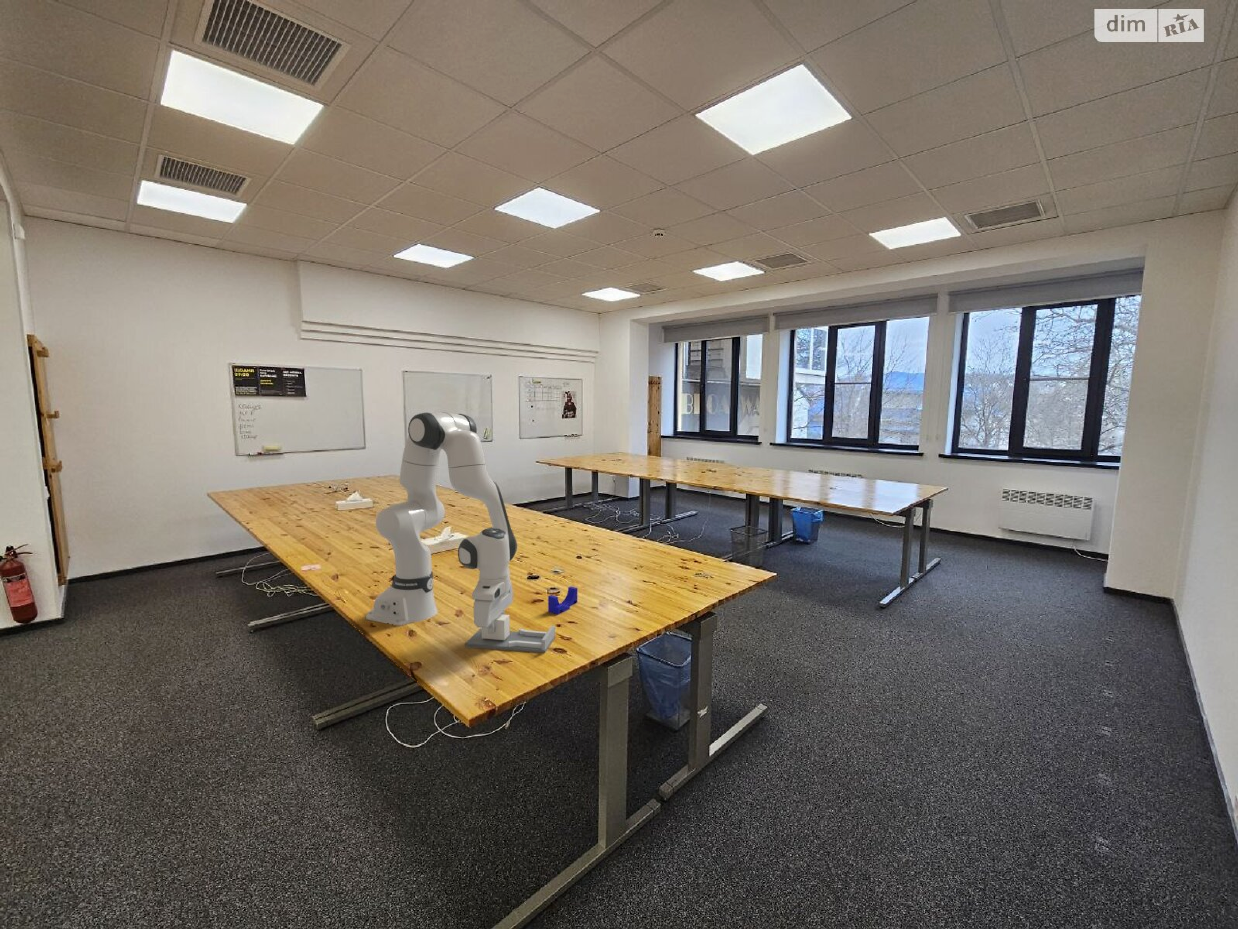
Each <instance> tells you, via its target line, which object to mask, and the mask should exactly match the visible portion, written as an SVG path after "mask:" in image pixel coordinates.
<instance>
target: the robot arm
mask: <svg viewBox="0 0 1238 929" xmlns="http://www.w3.org/2000/svg"><path fill="white" fill-rule="evenodd" d="M477 430H478V428H477V424H476V421H475V420H474V419H473V417H470V416H469V415H466V414H462V413H454V412H446V411H444V412H422V413H421V412H420V413H417V414H414V415H413V416H412V417H411V419H410V420H409V423H408V427H407V432H408V435H407V438H406V442H405V445H404V448H403V453H402V457H401V458H402V459H401V466H400V471H399V480H398V481H399V484H400V485H401V487H402V488H404V489H405V490H406V493H407V500H406V501H405V502H399V503H395V504H392V505H389V506H388V507H386V508H384V509H382V510H380V511H379V512H378V513H377V515H376V518H375V528H376V530H377V532H378V533H379V535H380V536H382V537H383V538H385V539H386V540H387V541H388V542H389V544H390V545H391V547H392V550H393V554H394V562H395V564H394V565H395V574H394V575H392V576H391V577H390V578H388V583H390V582H391V585H390V586H389V587H387V588H386V589H385V590H384V591H382V592H381V593H380V594H378V595H377V597H376V598H375V599H374V603H373V608H372V609H371V610H369V611H368V613H367V614H365V615H366V616H365V620H369V621H371V622H372V621H373V622H378V623H384V624H387V623H389V625H392V624H393V626H398V627H399V626H404V625H408V624H411V623H417V622H418V623H419V622H423V621H426V620H428V619H431V618H433V617H435V616H436V615H437V614H438V612H439V610H438V607H437V604H436V601H435V595H434V591H433V590H434V575H433V574H434V573H433V571H432V552H431V549H430V547H428V546H427V545H425V544H423V542H422V540H421V535H420V534H421V533H422V532H425V531H427V530H431V529H433V528H434V527H437V525H439V524H440V523H441V522H443V520H444V518H445V516H446V515H445V514H446V509H445V506H444V504H443V502H441V500H439V498H438V494H437V490H436V489H437V488H436V485H437V483H436V482H437V477H438V476H437V474H438V469H439V468H438V467H439V461H440V454H441V451H442V450H443V451H444V452H445V455H446V457H447V467H448V468H447V469H448V475H449V481H450V484H451V487H452V488H453V489H454V490H455V491H457V493H459V494H461V495H463V496H465V497H468V498H471V499H475V500H478V501H481V502H482V503H483V504H484V505H485V507H486V508H487V512H488V516H489V519H490V522H491V526H492V527H488V528H485V529H482V530H481V531H480V532H479V534H476V535H473V536H468V537H466V538H463V539H462V541H461V542H460V544H459V545H458V549H457V557H458V562H459V563H460V564H461V565H462V566H463V567H465V568H467V569H469V570H476V569H477V570H478V571H479V573H478V581H477V583H476V585H475V587H474V589H473V591H472V593H471V598H472V600H474V602H473V623H474V626H475V627H476V628H480V629H482V628H488V634H494V633H495V631H496V630H495V629H496V627H494V624H493V623H494V620H495V619H496V618H497V617H498V616H499V615H500V614H503V615H505V612H506V611H505V610H506V609H508V607H510V605H512V603H513V601H514V591H513V583H512V581H511V572H510V568H509V564H510V561H512V560H513V558H514V557H515V555H516V553H517V550H518V542H517V539H516V537H515V534H514V533H513V532H514V531H513V530H512V527H511V523H510V520H509V516H508V513H507V510H506V506H505V502H504V499H503V496H502V493H501V490H500V488H499V485H498V484H497V482H495V481H493V480H492V478H491V477H490V475H489V473H488V469H487V464H486V456H485V452H484V448H483V445H482V442H481V438H480V436H479V435H478V434H477ZM425 619H426V620H425ZM422 620H423V621H422Z"/></svg>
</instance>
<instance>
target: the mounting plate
mask: <svg viewBox="0 0 1238 929" xmlns="http://www.w3.org/2000/svg"><path fill="white" fill-rule="evenodd" d="M555 638H556V625H551V626H550V627H549V629H548V630H547V631H541V630H540V631H538V630H528V629H527V630H526V629H523V628H519V629H518V631H511V630H510V635H509V636H508V637H507V638H506V639H505V640H496V639H485V638H482V628H479V629H478V630H477V631H476V632H475V633H474V634H473V635H472V636H471V637H470V638H469V639H468V640H467V641H466V642H465V644H464V645H465V647H466V648H475V649H489V650H499V651H500V650H502V651H513V652H527V653H529V652H531V653H540V654H541V653H542V654H545V653H546V652H547V651H548V649H549V648H550V646H551V644H552V643H553V642H554V640H555Z"/></svg>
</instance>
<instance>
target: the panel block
mask: <svg viewBox="0 0 1238 929" xmlns="http://www.w3.org/2000/svg"><path fill="white" fill-rule="evenodd" d="M510 622H511V621H510V614H504V615H503V614H500V615H499V616H498V617H497V618H496V619H495V620H494V623H493V624H494V627H496V629H495V630H496V631H495V633H494V634H488V628H481V629H482V638H485V639H496V640H505V639H506V638H507V637H508V636H509V635H510V631H511V630H510V626H511V625H510Z"/></svg>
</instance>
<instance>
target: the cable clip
mask: <svg viewBox="0 0 1238 929" xmlns="http://www.w3.org/2000/svg"><path fill="white" fill-rule="evenodd" d="M566 593H567V594H566V596H565V598H564V599H563V601H562V602H560V601H559V596H555V595H552V594H550V595H548V596H547V601H548V602H547V604H548V605H547V610H548V611H547V612H548V613H551V614H555V615H560V613H564V612H567V611H569V610H570V608H571V607H572V606H573V605H575V604H578V587H575V586H569V587H567V592H566Z"/></svg>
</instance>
